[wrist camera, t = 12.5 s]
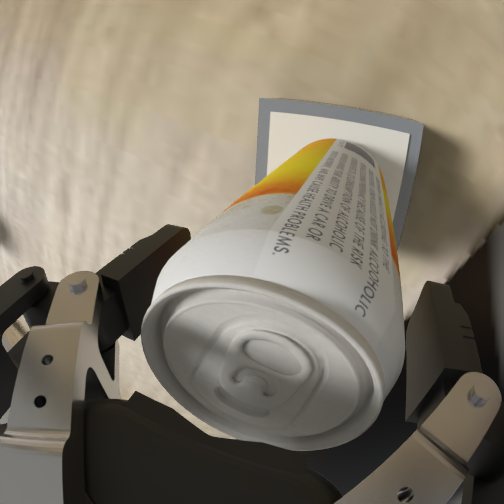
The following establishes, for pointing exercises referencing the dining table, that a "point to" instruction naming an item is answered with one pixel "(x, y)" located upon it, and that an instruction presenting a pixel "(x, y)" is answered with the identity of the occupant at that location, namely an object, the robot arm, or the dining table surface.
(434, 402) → the robot arm
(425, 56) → the dining table surface
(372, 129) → the riser
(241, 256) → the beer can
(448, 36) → the dining table surface
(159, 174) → the dining table surface
